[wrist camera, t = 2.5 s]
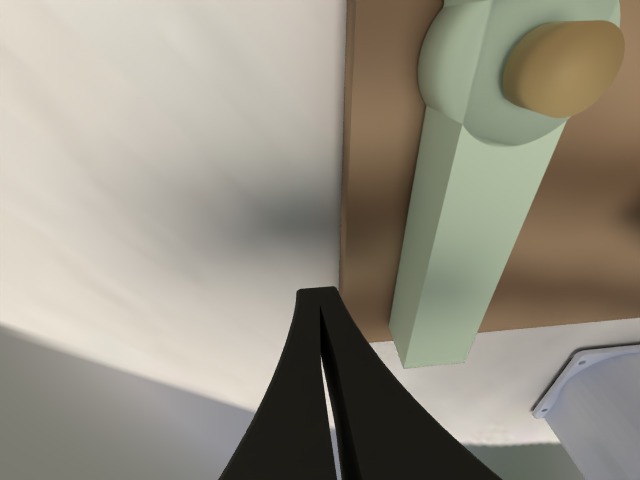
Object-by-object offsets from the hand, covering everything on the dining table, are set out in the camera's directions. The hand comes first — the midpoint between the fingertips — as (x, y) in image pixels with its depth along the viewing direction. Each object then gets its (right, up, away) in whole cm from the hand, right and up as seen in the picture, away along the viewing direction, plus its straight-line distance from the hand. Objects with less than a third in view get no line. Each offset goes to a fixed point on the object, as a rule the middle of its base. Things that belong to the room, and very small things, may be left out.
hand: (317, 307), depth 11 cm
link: (+5, +4, +2) cm, 7 cm away
